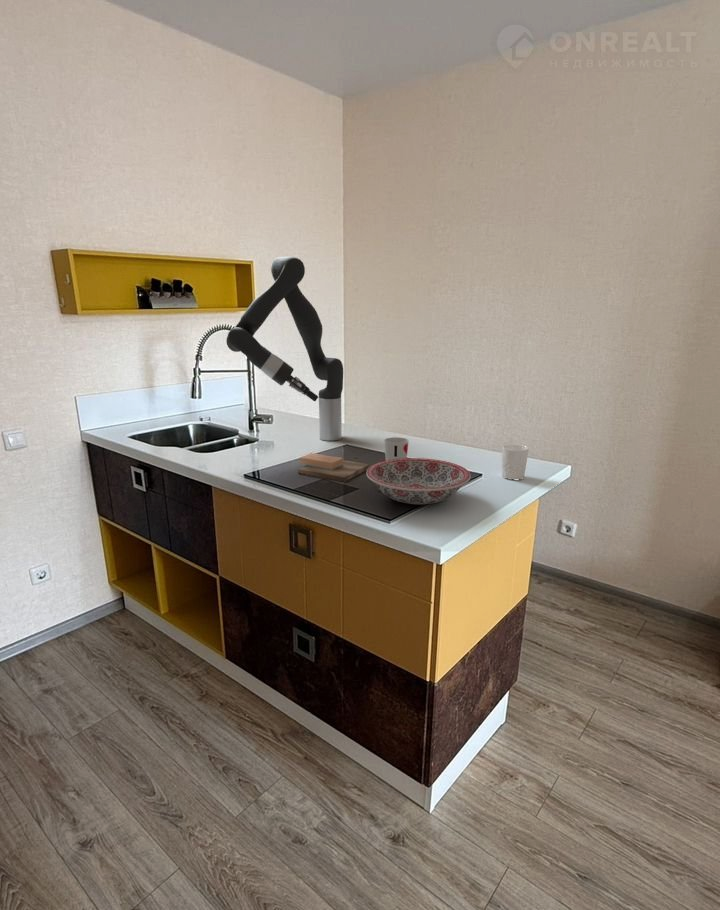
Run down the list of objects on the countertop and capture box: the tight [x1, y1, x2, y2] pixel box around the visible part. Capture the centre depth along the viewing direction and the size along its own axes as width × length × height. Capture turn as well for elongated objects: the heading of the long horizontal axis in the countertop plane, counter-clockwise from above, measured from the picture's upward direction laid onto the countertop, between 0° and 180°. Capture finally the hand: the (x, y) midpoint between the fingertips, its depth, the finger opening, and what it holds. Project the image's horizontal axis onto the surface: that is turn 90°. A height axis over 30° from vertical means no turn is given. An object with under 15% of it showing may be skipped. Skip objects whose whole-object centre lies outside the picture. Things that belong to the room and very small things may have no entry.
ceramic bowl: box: [365, 457, 472, 505], centre depth 148 cm, size 29×29×8 cm
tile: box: [299, 452, 344, 470], centre depth 176 cm, size 6×2×13 cm
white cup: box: [501, 443, 529, 480], centre depth 167 cm, size 8×8×10 cm
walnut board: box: [297, 459, 370, 483], centre depth 175 cm, size 16×18×2 cm
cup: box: [383, 436, 409, 461], centre depth 176 cm, size 8×8×10 cm
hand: (316, 399), depth 187 cm, fingers closed
